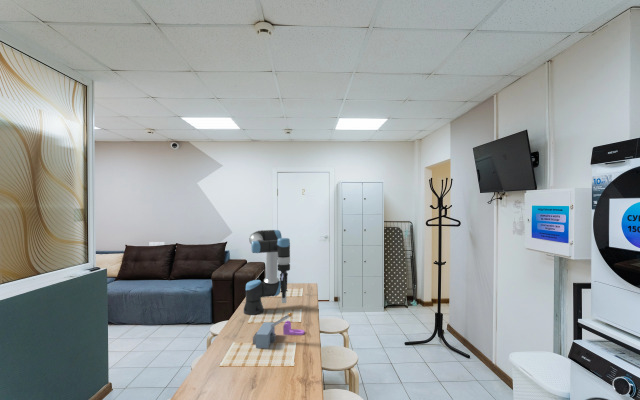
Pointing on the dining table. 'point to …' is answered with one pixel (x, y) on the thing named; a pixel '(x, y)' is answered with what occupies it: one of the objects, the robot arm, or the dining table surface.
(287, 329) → the bracket
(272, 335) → the gray block
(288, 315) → the latch bar
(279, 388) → the dining table surface
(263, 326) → the hitch block
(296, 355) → the dining table surface
